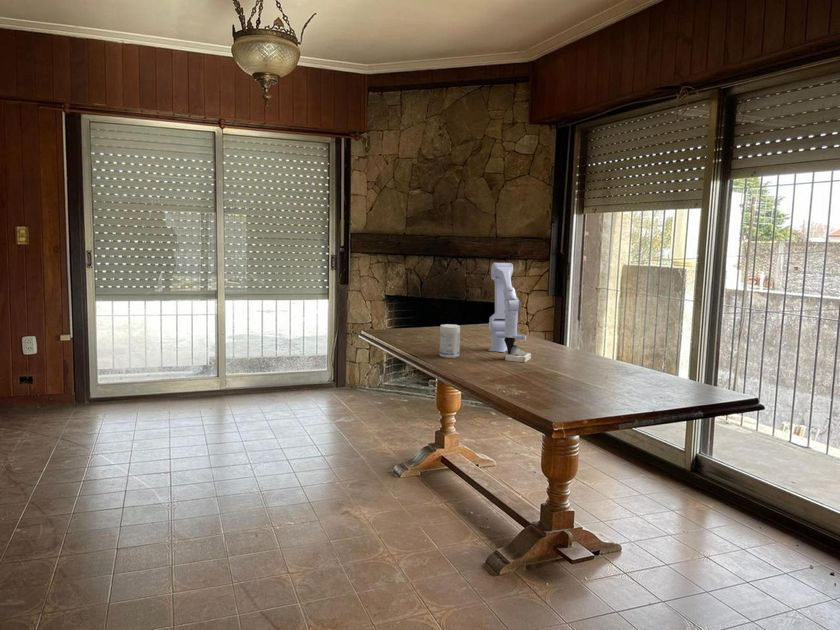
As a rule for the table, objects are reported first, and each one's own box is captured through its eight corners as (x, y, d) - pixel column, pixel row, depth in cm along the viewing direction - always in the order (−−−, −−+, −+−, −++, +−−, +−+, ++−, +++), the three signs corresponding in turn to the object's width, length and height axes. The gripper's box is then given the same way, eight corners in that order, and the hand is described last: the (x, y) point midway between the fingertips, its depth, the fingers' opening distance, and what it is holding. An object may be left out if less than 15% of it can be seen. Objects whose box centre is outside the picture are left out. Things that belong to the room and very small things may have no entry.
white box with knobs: (505, 354, 302) (510, 343, 302) (513, 357, 304) (517, 346, 304) (514, 357, 295) (518, 346, 296) (522, 360, 298) (526, 349, 298)
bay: (511, 356, 306) (512, 351, 306) (530, 358, 302) (531, 353, 302) (505, 360, 296) (505, 355, 295) (524, 362, 292) (525, 357, 292)
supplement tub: (450, 353, 308) (451, 323, 306) (463, 356, 300) (464, 326, 299) (434, 355, 302) (435, 324, 300) (448, 359, 294) (449, 327, 292)
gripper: (493, 324, 297) (492, 353, 298) (524, 327, 291) (522, 356, 292) (498, 323, 303) (496, 351, 305) (528, 325, 298) (526, 354, 299)
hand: (509, 354), depth 299 cm, fingers closed, pressing on white box with knobs
